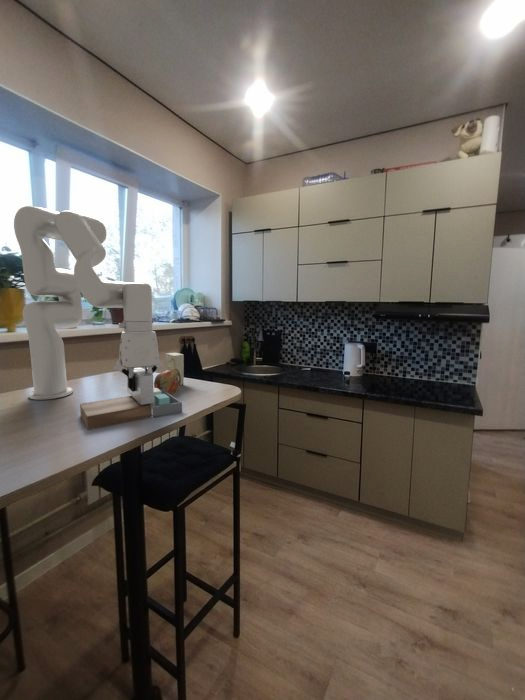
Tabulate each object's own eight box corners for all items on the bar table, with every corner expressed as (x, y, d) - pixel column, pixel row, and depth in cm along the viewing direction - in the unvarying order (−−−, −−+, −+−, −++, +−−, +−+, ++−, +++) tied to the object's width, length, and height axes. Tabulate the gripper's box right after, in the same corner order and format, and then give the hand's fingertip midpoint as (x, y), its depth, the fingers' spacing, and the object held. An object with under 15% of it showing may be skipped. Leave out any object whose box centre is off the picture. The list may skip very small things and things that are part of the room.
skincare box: (165, 383, 127) (164, 353, 125) (175, 381, 130) (175, 352, 128) (174, 387, 123) (173, 355, 121) (184, 384, 126) (184, 354, 124)
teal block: (154, 395, 96) (164, 393, 97) (154, 409, 96) (164, 407, 98) (159, 399, 92) (169, 397, 94) (159, 414, 93) (170, 412, 94)
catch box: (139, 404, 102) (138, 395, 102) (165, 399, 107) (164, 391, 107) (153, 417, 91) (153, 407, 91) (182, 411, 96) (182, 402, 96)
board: (80, 415, 92) (79, 403, 91) (138, 405, 101) (138, 394, 101) (88, 429, 82) (87, 416, 82) (151, 416, 92) (151, 405, 91)
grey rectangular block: (140, 404, 89) (140, 376, 88) (127, 391, 100) (126, 366, 99) (153, 402, 91) (153, 375, 90) (138, 390, 102) (138, 365, 101)
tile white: (147, 389, 102) (156, 387, 104) (147, 402, 103) (157, 401, 104) (151, 392, 98) (161, 391, 100) (151, 406, 99) (161, 405, 101)
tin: (161, 401, 106) (160, 375, 105) (152, 400, 107) (151, 375, 106) (181, 388, 121) (181, 366, 119) (174, 388, 121) (173, 366, 120)
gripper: (109, 329, 84) (112, 397, 87) (171, 327, 94) (171, 388, 97) (103, 326, 90) (106, 390, 93) (162, 325, 100) (163, 382, 103)
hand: (139, 388), depth 95 cm, fingers closed on grey rectangular block, 3 cm apart
